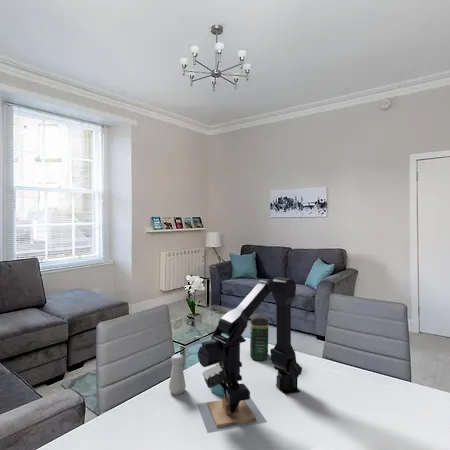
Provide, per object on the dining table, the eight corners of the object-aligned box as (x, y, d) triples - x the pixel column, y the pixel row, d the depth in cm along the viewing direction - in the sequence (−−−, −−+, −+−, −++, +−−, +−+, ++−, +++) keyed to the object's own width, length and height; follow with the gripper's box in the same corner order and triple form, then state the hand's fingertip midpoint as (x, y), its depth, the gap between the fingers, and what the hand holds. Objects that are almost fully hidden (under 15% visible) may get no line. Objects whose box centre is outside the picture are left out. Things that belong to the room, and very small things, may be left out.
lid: (242, 399, 108) (242, 387, 108) (255, 420, 96) (255, 407, 96) (207, 404, 105) (207, 393, 105) (216, 427, 93) (216, 414, 93)
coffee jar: (269, 361, 139) (269, 318, 139) (250, 360, 139) (250, 317, 139) (267, 352, 149) (267, 311, 148) (249, 351, 149) (250, 311, 149)
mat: (249, 397, 110) (249, 395, 110) (267, 423, 96) (267, 421, 96) (196, 405, 105) (196, 403, 105) (207, 434, 91) (207, 432, 91)
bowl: (232, 381, 121) (232, 368, 121) (240, 394, 112) (240, 380, 112) (207, 385, 119) (207, 371, 119) (213, 398, 110) (213, 384, 110)
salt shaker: (182, 398, 110) (182, 359, 109) (166, 396, 111) (166, 358, 111) (187, 389, 115) (188, 353, 115) (172, 387, 116) (172, 351, 116)
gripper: (198, 349, 107) (198, 396, 107) (212, 375, 89) (212, 431, 89) (231, 345, 110) (231, 391, 110) (250, 370, 92) (250, 424, 92)
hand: (230, 408), depth 101 cm, fingers open, 4 cm apart
